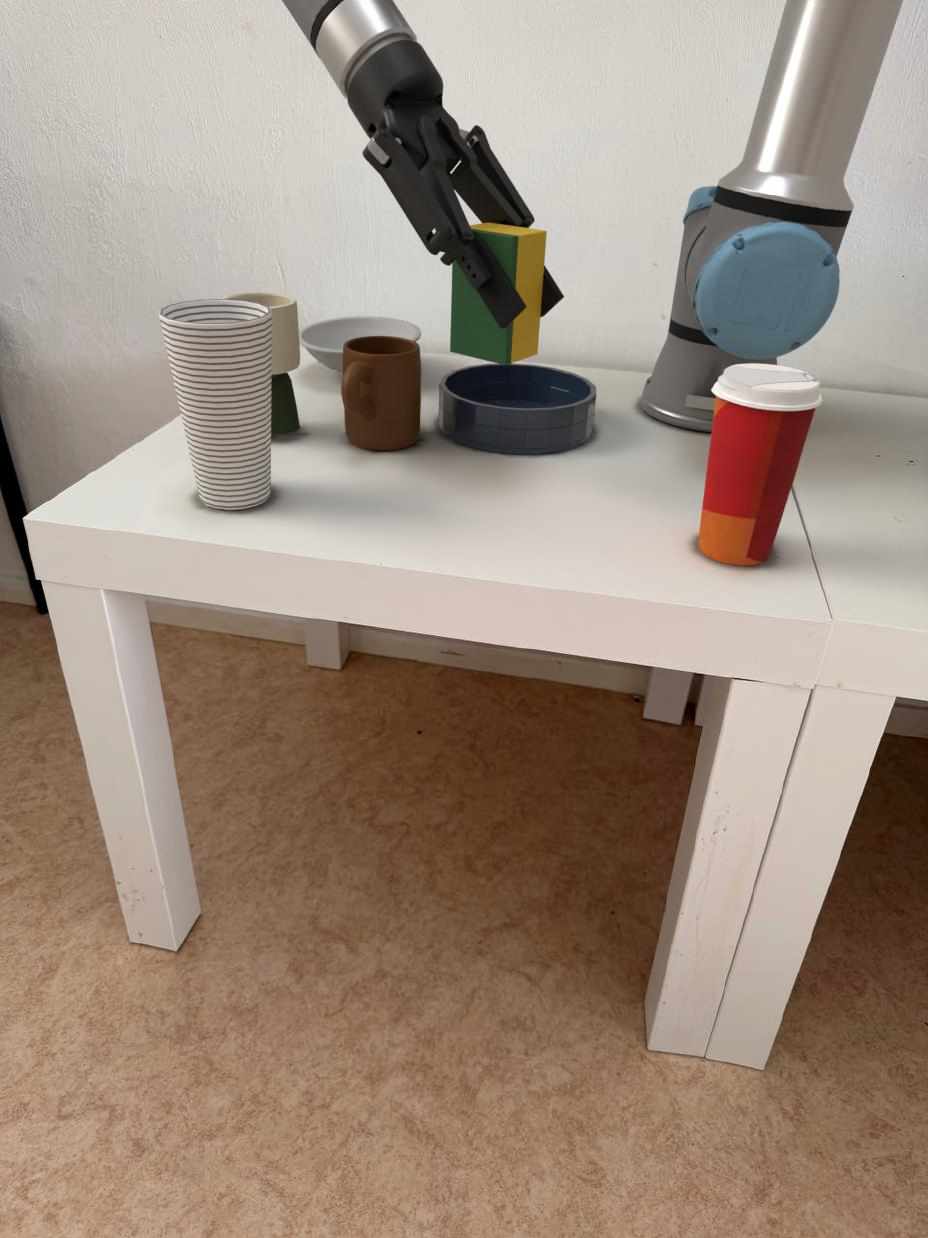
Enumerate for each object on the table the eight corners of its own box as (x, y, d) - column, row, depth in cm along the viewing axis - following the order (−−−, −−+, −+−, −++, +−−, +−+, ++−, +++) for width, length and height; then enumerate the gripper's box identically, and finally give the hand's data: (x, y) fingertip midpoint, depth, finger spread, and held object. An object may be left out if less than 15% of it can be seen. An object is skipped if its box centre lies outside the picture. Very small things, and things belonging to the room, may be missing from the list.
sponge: (482, 341, 80) (488, 222, 75) (537, 354, 77) (547, 230, 72) (449, 351, 77) (452, 227, 72) (505, 365, 74) (513, 236, 69)
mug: (386, 473, 82) (385, 371, 77) (312, 461, 84) (306, 361, 79) (431, 432, 92) (432, 339, 87) (363, 422, 94) (361, 331, 89)
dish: (389, 402, 100) (388, 357, 97) (273, 387, 103) (270, 343, 101) (439, 362, 114) (439, 322, 112) (336, 350, 118) (334, 311, 115)
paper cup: (764, 529, 75) (803, 362, 67) (797, 573, 68) (844, 393, 61) (673, 528, 74) (702, 359, 67) (696, 571, 68) (731, 390, 60)
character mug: (259, 412, 95) (248, 285, 89) (321, 419, 94) (315, 291, 87) (211, 446, 86) (195, 308, 80) (280, 455, 85) (269, 315, 78)
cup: (271, 472, 81) (257, 295, 73) (297, 508, 75) (284, 319, 67) (176, 485, 78) (150, 301, 70) (195, 523, 72) (168, 327, 64)
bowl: (535, 395, 104) (538, 356, 102) (622, 439, 92) (628, 397, 90) (412, 414, 97) (412, 373, 94) (490, 464, 85) (492, 419, 83)
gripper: (427, 107, 82) (561, 322, 82) (280, 108, 70) (438, 359, 70) (475, 39, 76) (619, 269, 77) (325, 27, 64) (496, 300, 64)
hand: (532, 311), depth 73 cm, fingers closed on sponge, 5 cm apart
